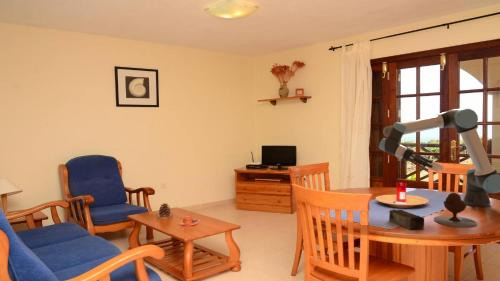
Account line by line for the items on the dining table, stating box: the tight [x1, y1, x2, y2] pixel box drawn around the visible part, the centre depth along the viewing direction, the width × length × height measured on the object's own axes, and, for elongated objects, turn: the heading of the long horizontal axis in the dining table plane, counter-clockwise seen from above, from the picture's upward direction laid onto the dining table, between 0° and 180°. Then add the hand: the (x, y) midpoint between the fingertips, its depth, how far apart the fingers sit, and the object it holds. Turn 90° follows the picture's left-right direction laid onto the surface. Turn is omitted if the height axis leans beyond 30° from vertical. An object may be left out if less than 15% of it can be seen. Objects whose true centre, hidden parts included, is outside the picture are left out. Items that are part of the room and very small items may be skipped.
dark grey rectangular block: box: [388, 208, 425, 231], centre depth 190 cm, size 8×19×7 cm, turn 11°
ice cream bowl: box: [443, 192, 468, 222], centre depth 195 cm, size 11×11×15 cm
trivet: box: [433, 215, 478, 228], centre depth 195 cm, size 20×20×1 cm
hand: (440, 168), depth 209 cm, fingers open, 13 cm apart
